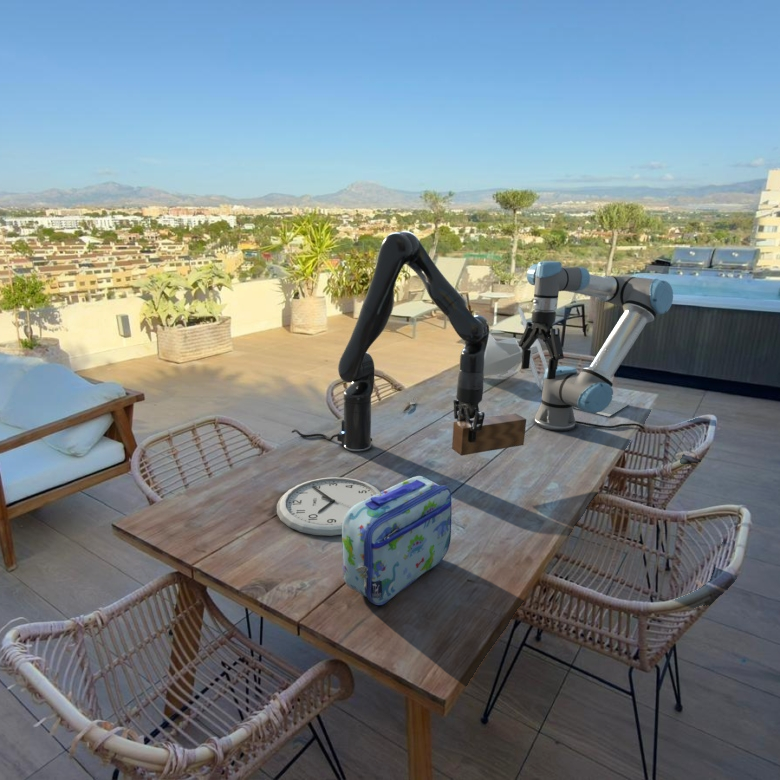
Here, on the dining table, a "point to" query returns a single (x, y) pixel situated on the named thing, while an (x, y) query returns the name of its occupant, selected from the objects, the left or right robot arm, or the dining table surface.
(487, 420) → the bar
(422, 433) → the dining table surface
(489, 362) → the white plastic object
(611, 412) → the grey rectangular panel
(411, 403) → the fork
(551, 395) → the right robot arm
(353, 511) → the lunch box
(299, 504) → the wall clock
